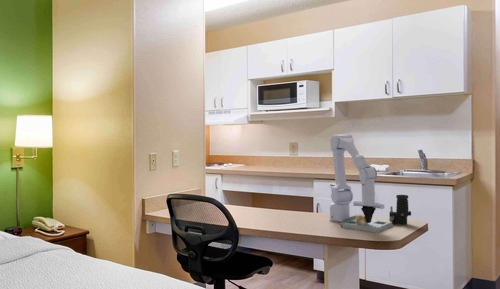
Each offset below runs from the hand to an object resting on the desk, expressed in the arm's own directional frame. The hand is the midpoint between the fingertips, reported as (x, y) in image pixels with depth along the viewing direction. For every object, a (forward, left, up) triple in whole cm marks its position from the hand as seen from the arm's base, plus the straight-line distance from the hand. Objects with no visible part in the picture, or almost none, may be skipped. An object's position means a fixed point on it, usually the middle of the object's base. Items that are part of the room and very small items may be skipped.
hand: (368, 222), depth 190 cm
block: (-3, 0, -1) cm, 4 cm away
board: (-3, +4, -3) cm, 6 cm away
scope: (+7, +19, -3) cm, 20 cm away
